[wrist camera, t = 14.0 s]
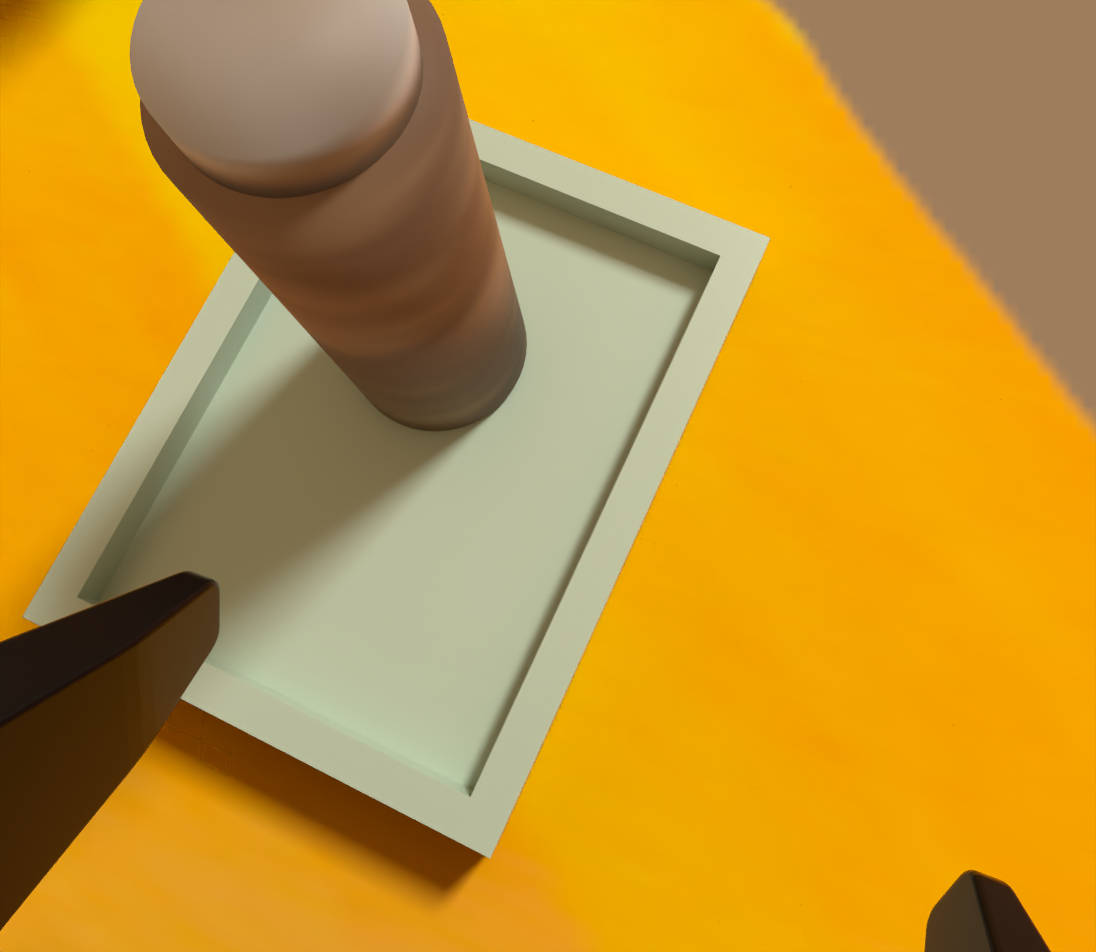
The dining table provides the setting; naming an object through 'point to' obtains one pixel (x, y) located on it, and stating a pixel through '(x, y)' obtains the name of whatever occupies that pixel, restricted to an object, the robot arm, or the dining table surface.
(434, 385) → the pepper mill
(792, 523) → the dining table surface
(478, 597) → the tray
